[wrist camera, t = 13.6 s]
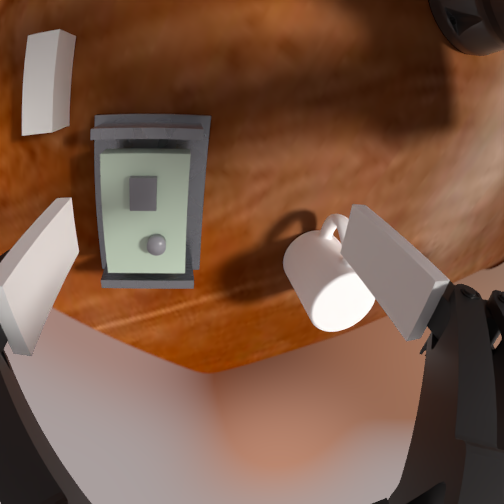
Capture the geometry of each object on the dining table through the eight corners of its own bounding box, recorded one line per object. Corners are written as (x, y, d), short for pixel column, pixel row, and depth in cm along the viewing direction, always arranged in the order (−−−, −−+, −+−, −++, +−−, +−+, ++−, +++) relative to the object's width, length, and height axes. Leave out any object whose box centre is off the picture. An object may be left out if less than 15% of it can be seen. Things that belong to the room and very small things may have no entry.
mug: (302, 335, 34) (333, 238, 28) (276, 282, 43) (296, 199, 37) (362, 329, 36) (399, 243, 31) (329, 282, 45) (354, 206, 39)
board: (106, 148, 26) (97, 156, 23) (189, 149, 28) (190, 156, 25) (111, 260, 31) (106, 278, 28) (184, 261, 33) (185, 278, 30)
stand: (47, 40, 21) (28, 35, 17) (76, 36, 22) (59, 29, 18) (41, 128, 26) (22, 135, 22) (69, 125, 27) (52, 132, 23)
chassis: (97, 114, 27) (80, 120, 22) (210, 115, 30) (216, 120, 25) (103, 264, 36) (94, 293, 31) (198, 265, 39) (202, 294, 34)
